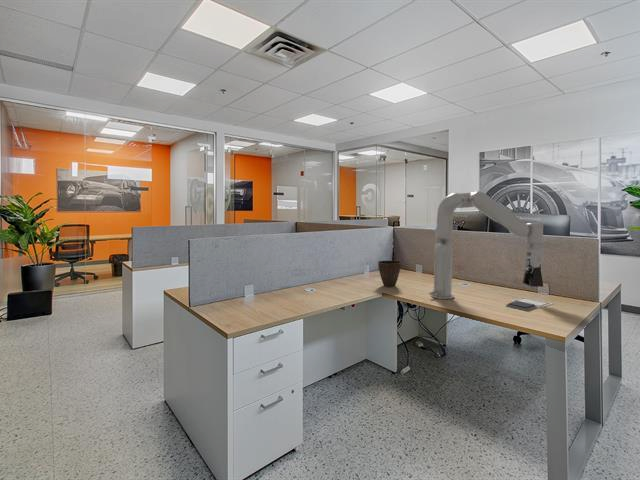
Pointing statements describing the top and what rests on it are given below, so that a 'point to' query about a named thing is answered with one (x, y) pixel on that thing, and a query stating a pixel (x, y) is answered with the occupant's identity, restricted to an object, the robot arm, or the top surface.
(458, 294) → the top surface
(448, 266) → the robot arm
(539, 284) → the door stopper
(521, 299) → the print sheet
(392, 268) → the plant pot
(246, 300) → the top surface
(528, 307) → the ink pad
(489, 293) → the top surface
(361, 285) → the top surface
